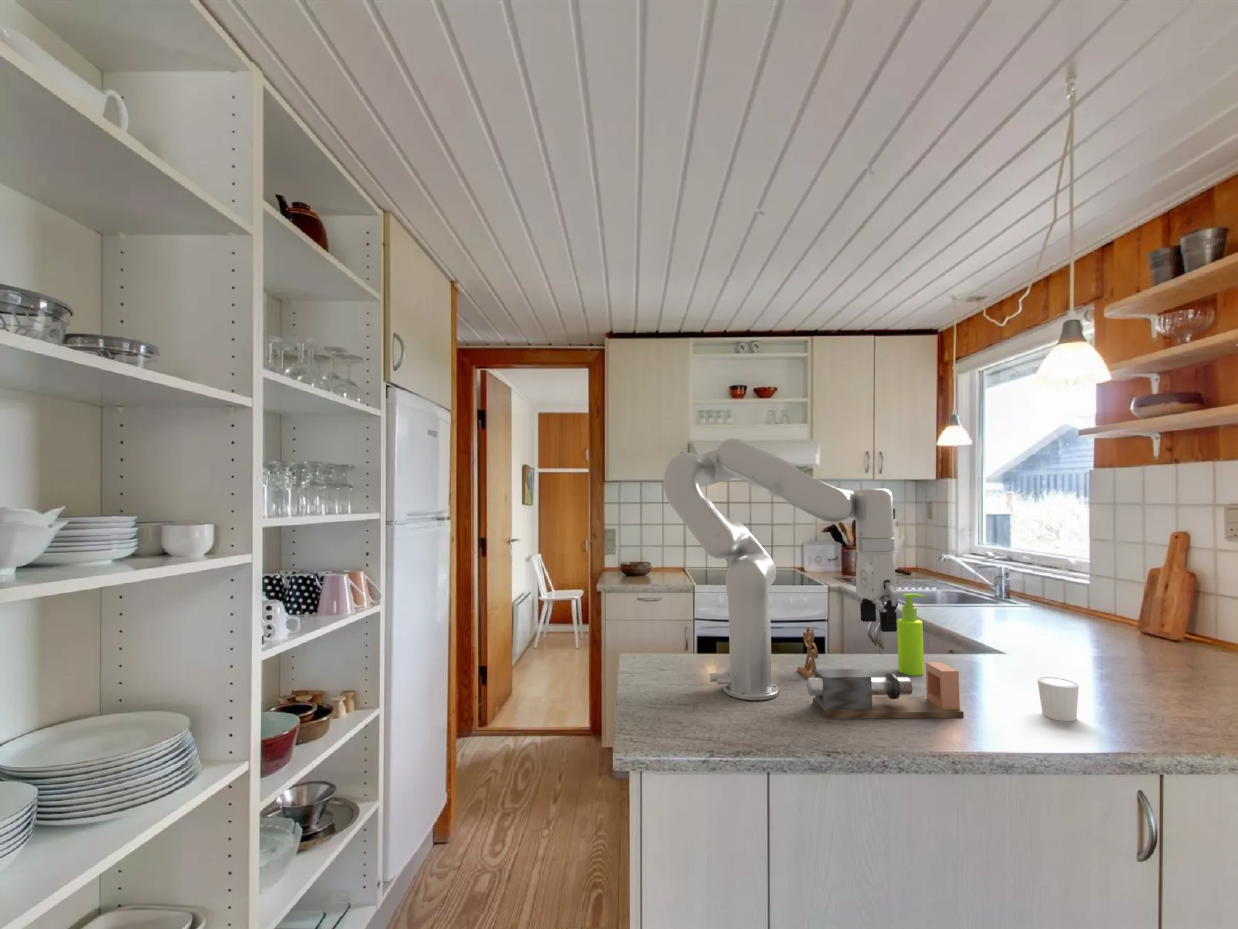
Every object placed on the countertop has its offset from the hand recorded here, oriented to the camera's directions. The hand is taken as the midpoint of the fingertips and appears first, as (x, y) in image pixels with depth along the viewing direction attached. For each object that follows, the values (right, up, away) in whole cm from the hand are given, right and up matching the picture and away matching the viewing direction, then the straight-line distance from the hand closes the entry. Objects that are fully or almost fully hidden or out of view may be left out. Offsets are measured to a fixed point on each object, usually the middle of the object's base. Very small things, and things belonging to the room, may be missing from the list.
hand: (878, 626), depth 126 cm
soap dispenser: (+20, -19, +25) cm, 37 cm away
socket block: (+13, -16, -1) cm, 21 cm away
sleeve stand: (+1, -18, -1) cm, 18 cm away
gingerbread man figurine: (-7, -19, +23) cm, 31 cm away
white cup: (+35, -17, -5) cm, 40 cm away
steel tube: (-4, -15, -1) cm, 16 cm away
